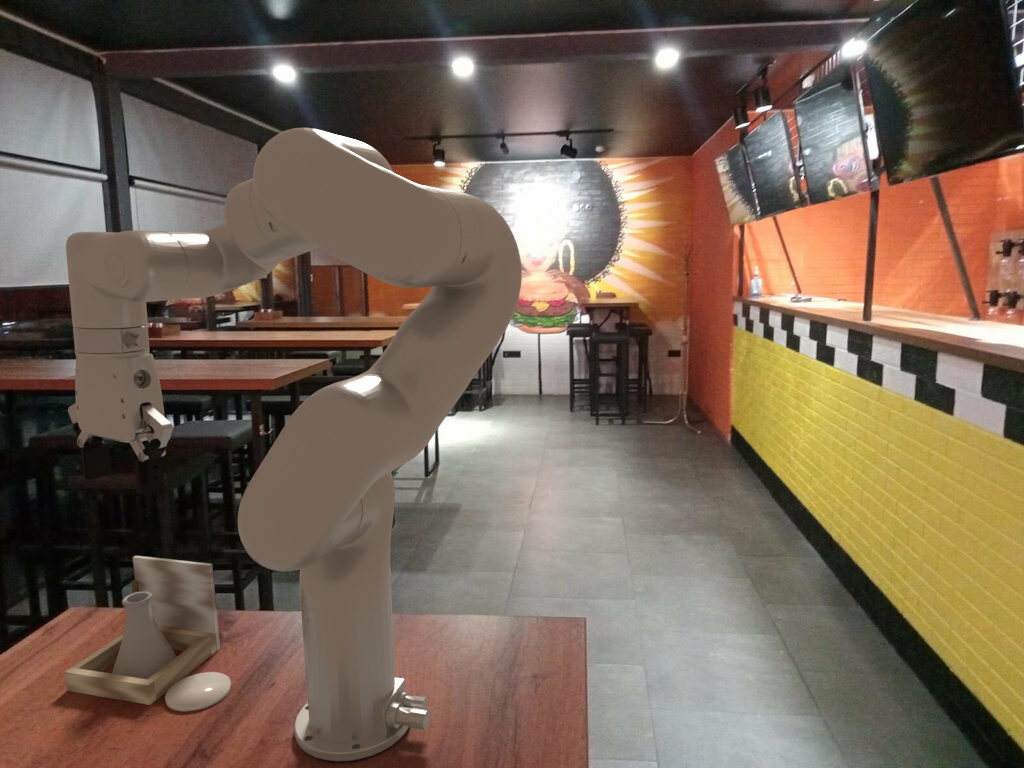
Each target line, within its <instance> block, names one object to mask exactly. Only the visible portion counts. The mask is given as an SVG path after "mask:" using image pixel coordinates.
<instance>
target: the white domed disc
mask: <svg viewBox="0 0 1024 768" xmlns="http://www.w3.org/2000/svg"><path fill="white" fill-rule="evenodd" d="M231 688H232V681H231V679H230V677H229V676H228V675H226V674H224V673H222V672H216V671H206V672H199V673H195V674H192V675H189V676H185V677H184V678H183V679H182V680H180V681H178V682H177V683H175V684H174V685H172V686H171V687H170V688H169V689H168V691H167V692H165V694H164V695H165V696H164V698H165V699H164V700H165V705H166V706H167V707H168V708H169V709H170V710H173V711H176V712H184V713H185V712H194V711H195V712H196V711H199V710H203V709H205V708H209V707H211V706H214V705H216V704H217V703H219V702H220V701H222V700H223V699H225V697H226V696H228V694H229V693H230V691H231Z"/></svg>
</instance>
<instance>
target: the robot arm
mask: <svg viewBox="0 0 1024 768" xmlns="http://www.w3.org/2000/svg"><path fill="white" fill-rule="evenodd" d="M252 172H253V173H252V178H250V179H247V180H244V181H242V182H240V183H238V184H236V185H234V187H232V188H231V190H230V191H229V192H228V194H227V195H226V197H225V200H224V207H223V208H224V209H223V210H224V214H223V215H224V220H225V222H224V223H223V224H219V225H217V226H215V227H212V228H210V229H207V230H204V231H199V232H193V231H192V232H191V231H170V230H168V231H167V230H126V231H119V232H115V231H78V232H75V233H72V234H71V235H69V236H68V237H67V240H66V242H65V254H66V265H67V275H68V289H69V299H70V300H69V301H70V309H71V310H70V311H71V321H72V331H73V342H74V353H75V357H76V358H75V368H74V372H75V373H74V378H75V379H74V384H75V385H74V388H75V389H74V390H75V391H74V392H75V394H74V395H75V396H74V397H75V403H73V404H72V405H70V406H69V407H68V409H67V413H68V415H69V417H70V420H71V422H72V430H73V431H74V434H75V435H76V436H77V439H76V444H77V446H78V447H79V448H80V456H81V466H82V468H81V469H82V478H83V479H84V480H85V481H92V480H94V479H99V478H102V477H106V476H108V475H110V474H111V473H112V467H111V465H112V464H111V454H110V445H109V444H110V443H109V442H105V441H106V439H108V440H112V441H116V442H121V443H129V445H130V446H131V448H132V450H133V452H134V453H135V455H136V456H137V458H138V459H136V460H134V472H135V485H136V486H135V487H136V492H137V494H140V495H145V494H148V493H152V492H154V491H157V490H160V489H162V488H164V486H165V477H164V476H165V475H164V460H163V459H164V458H163V457H164V456H165V455H167V454H166V453H167V451H166V450H167V449H168V447H169V446H170V444H171V442H170V439H171V436H172V433H173V429H174V425H173V423H172V422H171V421H170V420H169V419H168V418H166V417H165V407H164V399H163V393H162V387H161V381H160V377H159V371H158V367H157V364H156V360H155V357H154V355H153V354H152V353H150V341H149V340H150V339H149V328H148V324H149V323H148V311H147V308H148V307H147V303H149V302H152V303H153V302H162V301H170V300H171V301H173V300H183V299H185V300H186V299H199V298H202V299H203V298H209V297H213V296H217V295H220V294H223V293H228V292H229V291H232V290H234V289H235V290H236V289H238V288H241V287H243V286H246V285H248V284H252V283H253V282H256V281H258V280H260V279H262V278H264V277H266V276H267V275H269V274H270V273H271V272H272V271H273V270H275V269H276V267H278V265H279V264H280V263H282V262H285V261H287V260H290V259H292V258H296V257H298V256H300V255H303V254H306V253H308V252H312V251H315V250H317V249H318V248H319V249H321V250H323V251H324V252H326V253H328V254H330V255H331V256H334V257H336V258H337V259H339V260H341V261H342V262H344V263H346V264H348V265H351V266H352V267H353V268H356V269H358V270H359V271H361V272H362V273H365V274H367V275H369V276H371V278H374V279H376V280H378V281H381V282H382V283H386V284H389V285H391V286H395V287H399V288H407V289H422V288H430V287H431V289H430V291H429V292H428V293H427V294H426V296H425V298H424V299H423V300H422V301H421V302H420V303H419V304H418V305H417V306H416V307H415V309H413V310H412V311H411V313H410V314H409V315H408V316H407V317H406V318H405V319H404V321H403V322H402V323H401V325H400V326H399V327H398V329H397V330H396V333H395V334H394V335H393V338H392V339H391V341H390V342H389V343H388V346H386V348H385V349H384V351H383V352H382V354H380V357H378V359H377V360H376V361H375V362H374V364H373V365H372V366H371V367H370V368H369V369H368V370H366V371H364V372H363V373H360V374H359V375H356V376H354V377H351V378H348V379H344V380H341V381H338V382H334V383H331V384H329V385H326V386H324V387H322V388H320V389H318V390H317V391H315V392H313V394H311V395H309V396H308V397H307V398H306V399H305V400H304V401H303V402H302V403H301V404H300V405H299V406H298V407H297V408H296V409H295V410H294V412H292V414H291V416H290V417H289V418H288V419H287V421H286V424H285V425H284V427H283V428H282V429H281V431H280V433H279V434H278V436H277V438H276V439H275V440H274V442H273V444H272V446H271V447H270V449H269V450H268V452H267V454H266V455H265V457H264V459H262V461H261V462H260V465H259V466H258V467H257V470H256V471H255V473H254V474H253V476H252V477H251V480H250V481H249V483H248V484H247V486H246V488H245V490H244V492H243V495H242V498H241V499H240V503H239V507H238V513H237V527H238V528H237V530H238V535H239V538H240V542H241V544H242V545H243V548H244V550H245V551H246V553H247V554H248V556H249V557H250V558H251V559H252V560H253V561H254V562H255V563H257V564H258V565H260V566H262V567H264V568H266V569H269V570H271V571H276V572H286V573H287V572H294V571H295V572H296V571H299V597H300V611H301V612H300V613H301V625H302V627H301V629H302V640H303V652H304V653H303V654H304V656H303V657H304V669H305V681H306V695H307V696H306V697H307V703H306V704H304V705H303V707H302V708H301V709H300V710H299V712H298V713H297V716H296V718H295V721H294V725H293V726H294V737H295V741H296V743H297V745H298V746H299V748H300V749H301V750H302V751H303V752H305V753H306V754H308V755H309V756H312V757H314V758H316V759H320V760H324V761H330V762H350V761H351V762H352V761H357V760H361V759H365V758H368V757H372V756H374V755H377V754H379V753H381V752H383V751H385V750H387V749H389V748H390V747H392V746H393V745H394V744H395V743H397V742H398V741H400V739H402V737H403V736H404V735H405V734H406V733H407V731H408V729H409V728H410V729H412V728H414V729H418V730H427V729H428V727H429V724H430V721H431V720H430V719H431V711H430V710H429V709H427V707H428V698H427V697H425V696H418V695H414V696H413V695H409V694H408V692H405V690H406V689H405V688H406V687H405V679H404V678H403V677H401V678H400V677H396V662H395V660H396V659H395V639H394V622H393V619H394V618H393V602H392V601H393V600H392V599H393V598H392V577H391V576H392V575H391V572H392V570H391V547H392V546H391V545H392V543H391V541H392V530H393V524H394V523H393V522H394V513H395V505H396V488H395V481H394V475H393V473H392V472H393V471H396V470H397V469H398V468H400V467H402V466H404V465H406V464H407V463H409V462H411V461H412V460H413V459H415V458H416V457H417V456H418V455H419V454H421V452H423V450H424V449H425V448H426V447H427V445H428V444H429V442H430V441H431V440H432V438H433V437H434V435H435V434H436V432H437V431H438V430H439V427H440V426H441V424H442V423H443V422H444V421H445V419H446V418H447V416H448V415H449V414H450V412H451V410H453V408H454V407H455V405H456V404H457V402H458V401H459V399H460V398H461V397H462V396H463V394H464V392H465V391H466V389H467V388H468V387H469V385H470V383H471V382H472V380H473V378H474V377H475V376H476V374H477V373H478V372H479V370H480V369H481V367H482V366H483V364H485V361H486V360H487V359H488V358H489V356H490V355H491V353H492V352H493V350H494V349H495V348H496V346H497V345H498V343H499V341H501V339H502V337H503V335H504V334H505V332H506V330H507V328H508V327H509V324H510V323H511V320H512V319H513V316H514V313H515V312H516V311H515V310H516V308H517V305H518V302H519V297H520V293H521V288H522V277H523V276H522V273H523V272H522V270H523V269H522V262H521V256H520V250H519V247H518V244H517V241H516V238H515V236H514V233H513V231H512V229H511V228H510V226H509V224H508V223H507V221H506V220H505V218H504V217H503V216H502V215H501V213H500V212H499V211H498V210H497V209H496V208H495V207H493V205H491V204H489V203H488V202H487V201H485V200H483V199H481V198H479V197H477V196H475V195H472V194H468V193H464V192H462V191H456V190H450V189H444V188H440V187H439V188H438V187H433V186H429V185H424V184H423V185H422V184H419V183H416V182H413V181H412V180H410V179H407V178H405V177H403V176H401V175H399V174H396V173H395V172H394V169H392V167H391V165H390V162H388V160H387V159H386V157H384V155H382V154H381V152H379V151H378V150H377V149H376V148H374V147H373V146H372V145H369V144H367V143H365V142H363V141H360V140H357V139H355V138H354V139H353V138H350V137H347V136H343V135H338V134H334V133H331V132H328V131H325V130H321V129H317V128H310V127H296V128H295V127H294V128H290V129H286V130H284V131H282V132H279V133H278V134H275V135H274V136H273V137H272V138H270V139H269V140H268V141H266V143H265V145H264V146H263V147H261V150H260V151H259V153H258V154H257V157H256V159H255V162H254V165H253V171H252ZM144 441H148V444H146V446H145V445H144V444H143V442H144Z"/></svg>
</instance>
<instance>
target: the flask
mask: <svg viewBox="0 0 1024 768" xmlns="http://www.w3.org/2000/svg"><path fill="white" fill-rule="evenodd" d="M151 598H152V594H151V593H149V592H135V593H133V592H132V593H130V594H128V595H125V597H124V598H123V599H122V600H121V604H122V605H123V606H124V608H125V626H124V632H123V634H124V635H123V638H122V642H121V646H120V649H119V653H118V656H117V659H116V663H115V664H114V666H113V670H112V673H111V674H116V675H122V676H128V677H135V678H141V679H148V678H150V677H151V676H152V675H153V674H155V673H156V672H157V671H159V670H160V669H161V668H163V667H164V666H165V665H167V664H168V663H169V662H171V661H172V660H173V659H175V658H176V657H177V656H178V655H176V653H175V652H174V650H173V649H172V648H171V647H170V645H169V644H168V642H167V641H166V639H165V637H164V636H163V634H162V632H161V630H160V629H159V627H158V625H157V623H156V622H155V619H154V616H153V613H152V610H151V603H150V600H151Z"/></svg>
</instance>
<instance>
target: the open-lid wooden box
mask: <svg viewBox="0 0 1024 768" xmlns="http://www.w3.org/2000/svg"><path fill="white" fill-rule="evenodd" d="M132 563H133V572H134V573H133V574H134V580H131V581H130V582H131V591H132V594H133V593H135V592H149V593H151V594H152V598H151V600H150V603H151V610H152V613H153V616H154V619H155V622H156V623H157V625H158V627H159V629H160V630H161V632H162V634H163V636H164V637H165V639H166V641H167V642H168V644H169V645H170V647H171V648H172V650H173V651H174V650H175V651H182V652H181V653H180V654H179V655H176V656H177V657H176V658H175V659H173V660H172V661H171V662H169V663H168V664H167V665H165V666H164V667H163V668H161V669H160V670H159V671H157V672H156V673H155V674H153V675H152V676H151V677H150V678H148V679H141V678H135V677H128V676H122V675H116V674H112V673H111V672H110V673H108V672H106V670H109V668H111V667H112V666H113V665H114V666H115V663H116V659H117V656H118V653H119V649H120V646H121V642H122V638H123V635H124V633H122V634H121V635H119V636H118V637H116V638H114V639H113V640H112V641H110V642H108V643H107V644H105V645H104V646H102V647H100V648H99V649H97V650H96V651H95V652H93V653H92V654H90V655H89V656H87V657H85V658H84V659H82V660H81V661H79V662H77V663H75V664H74V665H73V666H72V667H70V668H68V669H67V670H65V671H64V678H65V679H64V680H65V685H66V691H67V692H72V693H77V694H84V695H90V696H94V697H100V698H108V699H112V700H113V699H114V700H120V701H125V702H131V703H136V704H142V705H147V706H151V705H152V704H153V703H154V702H156V701H157V700H158V699H159V698H161V697H162V696H163V695H165V694H166V692H167V691H168V689H169V688H170V687H171V686H172V685H174V684H175V683H177V682H178V681H180V680H182V679H184V678H186V677H188V675H189V674H190V673H192V672H193V671H194V670H195V669H197V668H198V667H199V666H200V665H201V664H203V663H204V662H205V661H206V660H207V659H209V658H210V657H211V656H213V655H214V654H215V653H216V652H217V651H220V649H221V644H220V643H221V641H220V633H219V622H218V620H219V619H218V610H217V601H216V592H215V591H216V590H215V580H214V570H213V569H214V567H213V563H208V562H201V561H200V562H197V561H189V560H181V559H180V560H179V559H170V558H164V557H163V558H161V557H152V556H144V555H143V556H142V555H134V556H132Z"/></svg>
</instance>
